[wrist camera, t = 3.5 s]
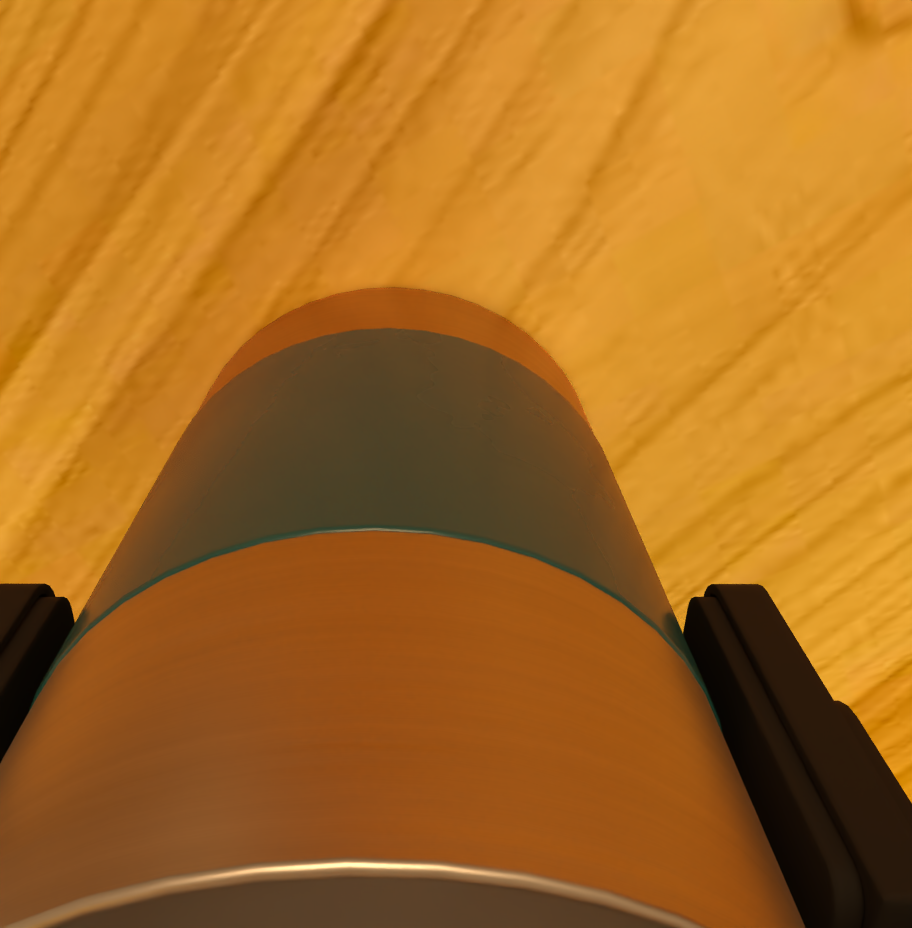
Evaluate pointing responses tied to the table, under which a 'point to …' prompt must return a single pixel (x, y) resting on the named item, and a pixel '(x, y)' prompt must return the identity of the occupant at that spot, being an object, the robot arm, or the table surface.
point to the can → (381, 666)
